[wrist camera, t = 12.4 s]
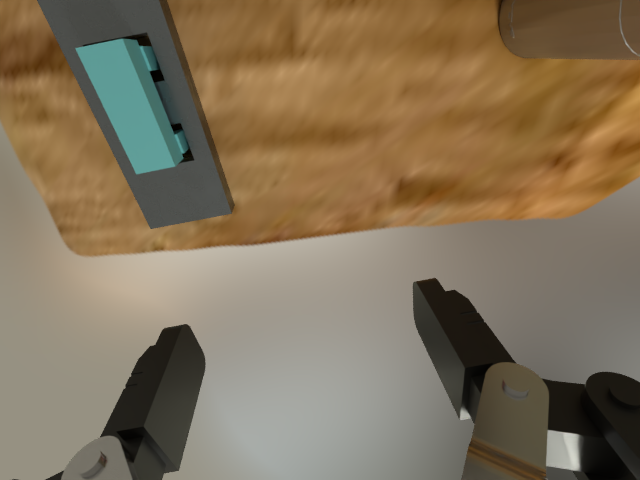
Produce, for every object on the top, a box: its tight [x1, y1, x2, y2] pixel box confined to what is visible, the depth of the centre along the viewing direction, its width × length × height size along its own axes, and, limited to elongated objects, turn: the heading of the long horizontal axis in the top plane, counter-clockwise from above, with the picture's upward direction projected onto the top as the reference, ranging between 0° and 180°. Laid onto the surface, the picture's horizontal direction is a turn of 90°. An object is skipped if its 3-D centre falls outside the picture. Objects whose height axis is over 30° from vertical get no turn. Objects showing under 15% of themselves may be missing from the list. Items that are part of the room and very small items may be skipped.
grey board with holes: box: [37, 0, 234, 229], centre depth 33 cm, size 10×26×2 cm, turn 9°
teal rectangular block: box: [75, 39, 190, 174], centre depth 32 cm, size 4×11×6 cm, turn 10°
